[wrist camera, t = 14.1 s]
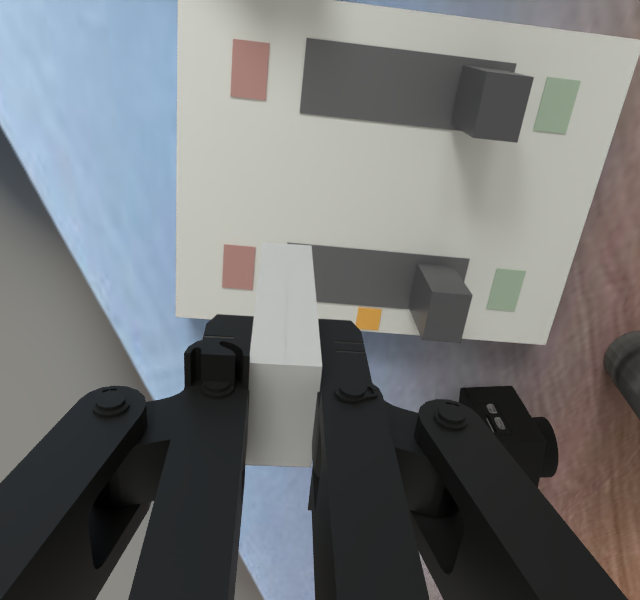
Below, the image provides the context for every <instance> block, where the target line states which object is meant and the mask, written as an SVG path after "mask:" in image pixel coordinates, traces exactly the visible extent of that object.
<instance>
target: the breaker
mask: <svg viewBox="0 0 640 600" xmlns="http://www.w3.org/2000/svg"><path fill="white" fill-rule="evenodd" d="M533 79H534V77H531V76H527V75H523V74H519V73H514V72H510V71H506V70H499V69H491V68H483V67H475V66H466V65H463V67H462V72H461V77H460V82H459V87H458V92H457V97H456V102H455V106H454V111H453V116H452V121H451V124H452V125H453V126H455V127H457V128H458V129H460V130H461V131H463V132H464V133H466V134H467V135H469V136H470V137H472V138H478V139H488V140H497V141H506V142H515V143H517V142H518V138H519V134H520V130H521V126H522V123H523V119H524V115H525V111H526V107H527V103H528V99H529V95H530V91H531V87H532V83H533Z"/></svg>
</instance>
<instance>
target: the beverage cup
mask: <svg viewBox="0 0 640 600" xmlns="http://www.w3.org/2000/svg"><path fill="white" fill-rule="evenodd" d="M604 366H605V369H606V371H607V372H608V374H609V375H610V376H611V378H612V381H613V382H614V384H615V385H616V387H617V388H618V389H619V391H620V392H621V394H622V395H623V397H624V398H625V399H626V401H627V402H628V404H629V405H630V406H631V408H632V409H633V411H634V412H635V414H636V415H637V416H638V418H639V419H640V331H633V332H630V333H627V334H624V335H623V336H621V337H619V338H618V339H616V340H615V341H614V342H613V343H612V344H611V345H610V346H609V348H608V350H607V352H606V353H605V358H604Z"/></svg>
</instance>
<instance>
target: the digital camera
mask: <svg viewBox="0 0 640 600" xmlns="http://www.w3.org/2000/svg"><path fill="white" fill-rule="evenodd" d="M470 400H471V401H470ZM471 402H472V403H471ZM459 403H461V404H463V405H465V406H467V407H469V408H471V409H472V410H473V411H474V412H475V413H477V414H478V415H479V416H480V418H481V419H482V420H483V421H484V423H485V424H486V425H487V426H488V427H489V429H490V430H491V431H492V432H493V434H494V435H495V436H496V437H497V439H498V440H499V441H500V442H501V443H502V445H503V446H504V447H505V448H506V450H507V451H508V452H509V453H510V455H511V456H512V457H513V458H514V460H515V461H516V462H517V463H518V464H519V466H520V467H521V468H522V469H523V471H524V472H525V473H526V474H527V476H528V477H529V478H530V479H531V481H532V482H533V483H534V484H535V485H536V487H537V488H538V483H539V478H540V477H552V476H553V475H554V474H555V472H556V470H557V466H558V447H557V441H556V437H555V434H554V431H553V428H552V426H551V424H550V423H549V421H548V420H547V419H546V418H544V417H531V416H530V414H529V412H528V411H527V409H526V408H525V406H524V404H523V403H522V401H521V399H520V398H519V396H518V394H517V393H516V391H515V390H514V388H513V387H512V386H497V387H473V388H461V390H460V399H459ZM472 404H473V405H472ZM473 406H474V407H473Z"/></svg>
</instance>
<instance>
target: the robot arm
mask: <svg viewBox="0 0 640 600" xmlns="http://www.w3.org/2000/svg"><path fill="white" fill-rule="evenodd" d="M184 371H185V388H184V390H183V391H182V392H180V393H179V394H177V395H174V396H172V397H169V398H165V399H161V400H155V401H149V402H146V401H145V397H144V396H143V395H142V394H141V393H140V392H139V391H138V390H135V389H132V388H130V387H126V386H109V387H103V388H99V389H97V390H94V391H92V392H89V393H88V394H86V395H85V396H84V397H82V398H81V399H80V400H79V401H78V402H77V403H76V404H75V405H74V406H73V407H72V408H71V409H70V410H69V411H68V412H67V413H66V414H65V416H64V417H63V418H62V419H61V420H60V421H59V422H58V423H57V424H56V425H55V426H54V427H53V428H52V429H51V430H50V431H49V432H48V434H47V435H46V436H45V437H44V438H43V439H42V440H41V441H40V442H39V443H38V444H37V445H36V446H35V447H34V448H33V449H32V450H31V451H30V452H29V454H28V455H27V456H26V457H25V458H24V459H23V460H22V461H21V462H20V463H19V464H18V465H17V466H16V467H15V468H14V470H13V471H11V473H10V474H9V475H8V476H7V477H6V478H5V479H4V480H3V481H2V482H1V483H0V600H95V599H96V597H97V596H98V594H99V592H100V591H101V589H102V587H103V586H104V584H105V582H106V581H107V579H108V577H109V576H110V574H111V572H112V570H113V569H114V567H115V566H116V564H117V562H118V560H119V559H120V557H121V555H122V554H123V552H124V550H125V549H126V547H127V545H128V544H129V542H130V540H131V539H132V537H133V535H134V533H135V532H136V530H137V529H138V527H139V525H140V523H141V522H142V520H143V519H144V517H145V515H146V514H147V511H148V510H149V507H150V504H151V501H154V500H155V501H154V505H153V508H152V512H151V516H150V520H149V523H148V527H147V531H146V535H145V539H144V542H143V546H142V550H141V554H140V557H139V561H138V565H137V569H136V573H135V576H134V580H133V584H132V588H131V592H130V595H129V599H128V600H234V594H235V582H236V571H237V560H238V549H239V537H240V526H241V515H242V504H243V493H244V480H245V465H258V466H285V467H311V463H312V461H313V469H312V477H311V486H310V495H309V504H308V510H312V530H313V555H314V580H315V600H429V595H428V591H427V587H426V582H425V578H424V574H423V569H422V565H421V560H420V556H419V552H420V554H421V556H422V558H423V560H424V562H425V564H426V566H427V568H428V570H429V572H430V574H431V576H432V578H433V580H434V582H435V583H436V585H437V587H438V589H439V591H440V593H441V595H442V597H443V599H444V600H628V599H627V598H626V597H625V595H624V594H623V593H622V592H621V590H620V589H619V588H618V587H617V585H616V584H615V583H614V582H613V581H612V579H611V578H610V577H609V576H608V574H607V573H606V572H605V571H604V569H603V568H602V567H601V566H600V564H599V563H598V562H597V561H596V560H595V558H594V557H593V556H592V555H591V553H590V552H589V551H588V550H587V548H586V547H585V546H584V545H583V543H582V542H581V541H580V540H579V539H578V537H577V536H576V535H575V534H574V532H573V531H572V530H571V529H570V527H569V526H568V525H567V524H566V522H565V521H564V520H563V519H562V518H561V516H560V515H559V514H558V513H557V511H556V510H555V509H554V508H553V506H552V505H551V504H550V503H549V502H548V500H547V499H546V498H545V497H544V495H543V494H542V493H541V492H540V490H539V489H538V488H537V487H536V485H535V484H534V483H533V482H532V481H531V479H530V478H529V477H528V476H527V474H526V473H525V472H524V471H523V469H522V468H521V467H520V466H519V464H518V463H517V462H516V461H515V460H514V458H513V457H512V456H511V455H510V453H509V452H508V451H507V450H506V448H505V447H504V446H503V445H502V443H501V442H500V441H499V440H498V439H497V437H496V436H495V435H494V434H493V432H492V431H491V430H490V429H489V427H488V426H487V425H486V424H485V423H484V421H483V420H482V419H481V418H480V416H479V415H478V414H477V413H475V412H474V411H473V410H472V409H471V408H469V407H467V406H465V405H463V404H461V403H459V402H455V401H451V400H444V399H435V400H432V401H428V402H426V403H425V404H423V405H422V406H421V407H420V410H419V413H416V412H412V411H408V410H405V409H401V408H398V407H395V406H393V405H391V404H389V403H387V402H386V401H384V400H383V395H382V394H381V392H380V390H379V388H378V387H376V386H375V385H374V384H373V383H372V380H371V376H370V371H369V366H368V362H367V357H366V353H365V348H364V344H363V338H362V334H361V330H360V329H359V328H358V327H357V326H356V325H355V324H354V323H353V322H352V321H351V320H333V319H318V312H317V301H316V290H315V279H314V268H313V257H312V246H311V245H296V244H282V243H267V242H262V248H261V257H260V266H259V275H258V284H257V293H256V302H255V311H254V316H240V315H223V314H217V315H216V316H215V317H214V318H212V319H211V320H210V321H209V322H208V323H207V324H206V328H205V332H204V337H203V340H201V341H197V342H195V343H194V344H192V345H190V346H189V347H188V348H187V350H186V351H185V353H184ZM418 550H419V552H418Z"/></svg>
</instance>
